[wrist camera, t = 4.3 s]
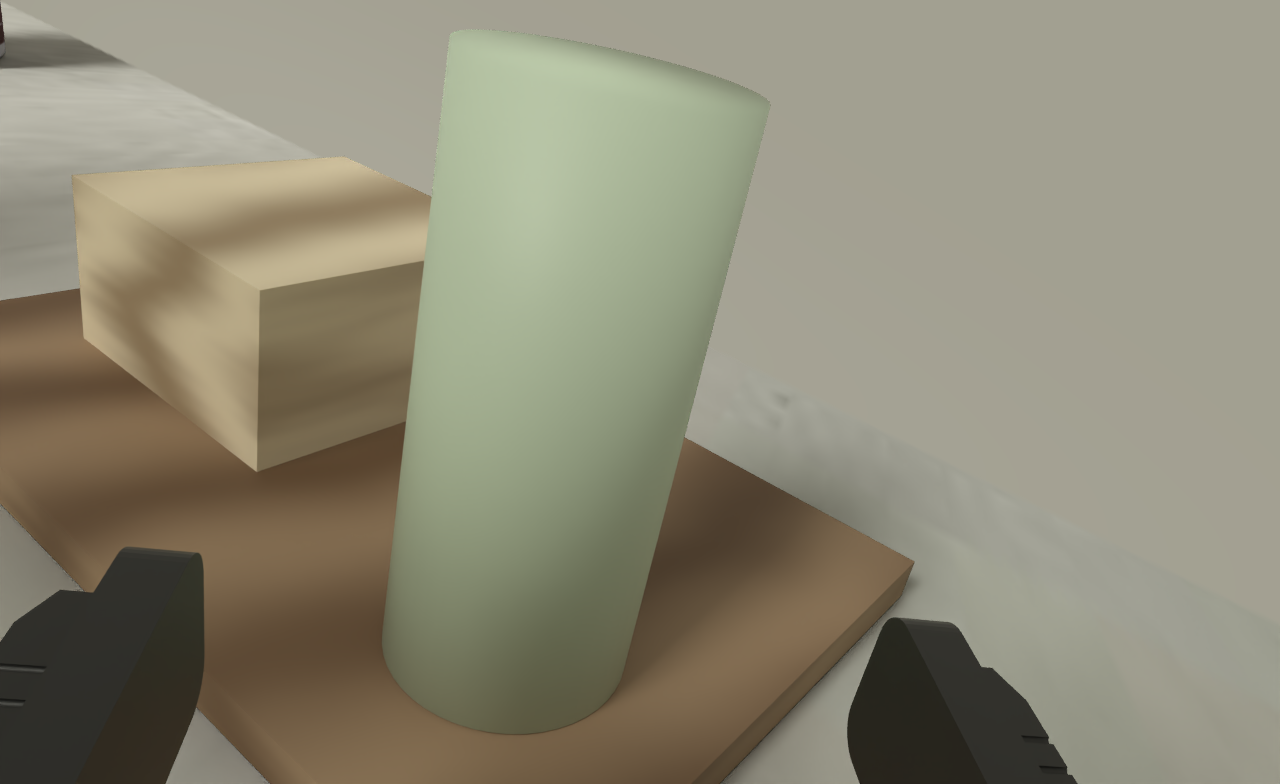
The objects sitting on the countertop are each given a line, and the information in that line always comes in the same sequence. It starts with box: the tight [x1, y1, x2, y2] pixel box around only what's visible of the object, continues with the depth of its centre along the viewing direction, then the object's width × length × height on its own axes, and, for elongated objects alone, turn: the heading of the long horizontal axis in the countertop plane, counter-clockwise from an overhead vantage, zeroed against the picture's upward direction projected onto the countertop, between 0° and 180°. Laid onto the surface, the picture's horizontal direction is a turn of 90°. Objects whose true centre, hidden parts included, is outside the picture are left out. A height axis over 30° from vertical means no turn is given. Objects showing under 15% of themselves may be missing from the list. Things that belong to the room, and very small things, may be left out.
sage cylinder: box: [382, 30, 771, 734], centre depth 18 cm, size 5×5×12 cm
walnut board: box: [0, 288, 914, 784], centre depth 27 cm, size 26×16×1 cm, turn 52°
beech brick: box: [72, 157, 431, 472], centre depth 29 cm, size 9×9×5 cm
